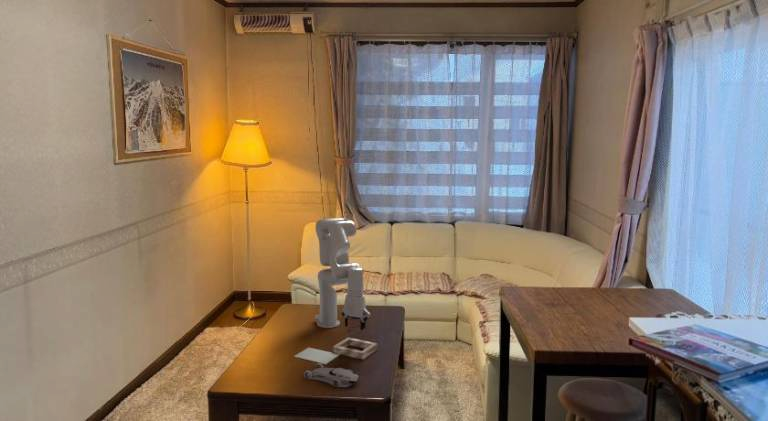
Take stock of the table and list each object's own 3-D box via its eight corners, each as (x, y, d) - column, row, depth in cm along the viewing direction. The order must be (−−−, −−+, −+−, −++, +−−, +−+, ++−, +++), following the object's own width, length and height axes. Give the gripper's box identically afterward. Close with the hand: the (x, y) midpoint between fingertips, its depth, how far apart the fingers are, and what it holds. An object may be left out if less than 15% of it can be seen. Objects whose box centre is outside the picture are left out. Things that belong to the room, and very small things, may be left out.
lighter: (364, 332, 260) (364, 312, 258) (361, 334, 257) (361, 315, 255) (348, 330, 262) (348, 310, 261) (346, 332, 259) (346, 312, 258)
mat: (293, 356, 253) (293, 356, 252) (308, 348, 263) (308, 347, 263) (325, 364, 244) (325, 363, 244) (339, 355, 255) (339, 354, 255)
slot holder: (332, 352, 258) (332, 346, 257) (347, 343, 270) (347, 337, 270) (363, 359, 250) (363, 353, 250) (377, 349, 262) (377, 343, 262)
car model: (316, 368, 241) (316, 358, 240) (363, 380, 230) (363, 369, 229) (302, 378, 231) (301, 367, 230) (350, 391, 220) (350, 379, 219)
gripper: (335, 292, 257) (335, 326, 260) (367, 297, 249) (366, 333, 252) (344, 288, 264) (343, 321, 266) (375, 293, 256) (374, 328, 258)
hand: (355, 327), depth 259 cm, fingers closed on lighter, 8 cm apart
